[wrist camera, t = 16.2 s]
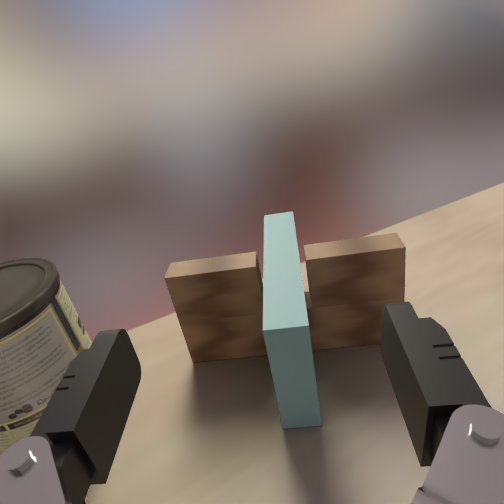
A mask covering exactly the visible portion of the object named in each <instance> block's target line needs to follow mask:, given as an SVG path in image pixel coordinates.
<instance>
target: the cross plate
mask: <svg viewBox="0 0 504 504" xmlns="http://www.w3.org/2000/svg"><path fill="white" fill-rule="evenodd" d="M263 335H264V339H265V344H266V349H267V354H268V359H269V364H270V369H271V374H272V378H273V383H274V388H275V393H276V398H277V403H278V408H279V413H280V417H281V422H282V427H283V429H286V428H298V427H310V426H322V424H321V416H320V408H319V400H318V393H317V385H316V377H315V369H314V362H313V354H312V346H311V338H310V330H309V323H308V316H307V309H306V302H305V295H304V288H303V280H302V273H301V266H300V259H299V252H298V245H297V239H296V231H295V224H294V217H293V212H286V213H279V214H272V215H265V216H264V274H263Z"/></svg>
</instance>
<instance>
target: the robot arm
mask: <svg viewBox="0 0 504 504" xmlns="http://www.w3.org/2000/svg"><path fill="white" fill-rule="evenodd" d="M381 350H382V356H383V360H384V363H385V366H386V369H387V372H388V375H389V377H390V380H391V383H392V386H393V389H394V392H395V394H396V397H397V400H398V403H399V406H400V409H401V412H402V414H403V417H404V420H405V423H406V426H407V429H408V432H409V434H410V437H411V440H412V443H413V446H414V449H415V451H416V454H417V457H418V460H419V463H420V466H431V467H430V470H429V472H428V474H427V477H426V479H425V482H424V484H423V486H422V487H420V488H419V489H418V490H417V492H416V494H415V496H414V498H413V500H412V503H411V504H504V414H502V413H500V412H499V411H497V410H494V409H492V407H491V406H490V404H489V403H488V401H487V400H486V398H485V396H484V395H483V393H482V391H481V389H480V388H479V386H478V384H477V383H476V381H475V379H474V377H473V376H472V374H471V372H470V371H469V369H468V367H467V365H466V364H465V362H464V360H463V359H462V358H461V356H460V353H459V352H458V350H457V348H456V347H455V346H454V343H453V341H452V340H451V338H450V336H449V335H448V333H447V331H446V329H445V328H443V327H442V326H441V325H440V324H438V323H437V322H436V321H435V320H433V319H432V318H431V317H430V318H418V317H417V315H416V313H415V311H414V309H413V307H412V305H411V303H410V302H401V303H390V304H383V305H382V318H381ZM140 379H141V366H140V362H139V360H138V357H137V355H136V352H135V350H134V348H133V345H132V343H131V340H130V338H129V335H128V333H127V332H126V330H124V329H117V330H107V331H100V332H99V333H98V334H97V335H96V337H95V339H94V341H93V343H92V345H91V346H90V348H89V349H84V350H83V351H82V352H81V353H80V354H78V355H77V356H76V357H75V358H74V359H73V360H72V361H71V363H70V365H69V366H68V368H67V370H66V372H65V374H64V375H63V379H61V381H60V383H59V384H58V386H57V390H56V391H55V392H54V393H53V395H52V397H51V399H50V401H49V402H48V404H47V406H46V408H45V410H44V411H43V413H42V415H41V417H40V419H39V420H38V422H37V424H36V426H35V428H34V429H33V431H32V433H31V435H30V436H29V437H27V438H25V439H22V440H20V441H18V442H16V443H15V444H13V445H12V446H10V447H9V448H8V449H7V450H5V451H4V452H3V453H2V454H1V456H0V504H89V501H88V499H87V498H86V494H87V492H88V489H89V486H90V484H106V481H107V478H108V475H109V472H110V469H111V466H112V463H113V460H114V457H115V454H116V451H117V448H118V446H119V443H120V440H121V437H122V434H123V431H124V428H125V425H126V422H127V419H128V416H129V413H130V410H131V407H132V404H133V401H134V398H135V395H136V392H137V389H138V386H139V383H140Z"/></svg>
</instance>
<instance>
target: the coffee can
mask: <svg viewBox="0 0 504 504" xmlns="http://www.w3.org/2000/svg"><path fill="white" fill-rule="evenodd" d="M91 345H92V342H91V341H90V338H89V337H88V334H87V332H86V330H85V329H84V326H83V325H82V323H81V320H80V318H79V316H78V314H77V312H76V310H75V309H74V307H73V305H72V302H71V300H70V298H69V296H68V295H67V293H66V291H65V289H64V287H63V285H62V283H61V281H60V279H59V273H58V270H57V268H56V266H55V264H54V263H53V262H51V261H49V260H46V259H40V258H26V259H18V260H13V261H8V262H4V263H0V456H1V454H2V453H3V452H4V451H5V450H7V449H8V448H9V447H10V446H12V445H13V444H15V443H16V442H18V441H20V440H22V439H25V438H27V437H29V436H30V435H31V433H32V431H33V429H34V428H35V426H36V424H37V422H38V420H39V419H40V417H41V415H42V413H43V411H44V410H45V408H46V406H47V404H48V402H49V401H50V399H51V397H52V395H53V393H54V392H55V391H56V390H57V386H58V384H59V383H60V381H61V379H63V375H64V374H65V372H66V370H67V368H68V366H69V365H70V363H71V361H72V360H73V359H74V358H75V357H76V356H77V355H78V354H80V353H81V352H82V351H83V350H84V349H89V348H90V346H91Z"/></svg>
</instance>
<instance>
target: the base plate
mask: <svg viewBox="0 0 504 504" xmlns="http://www.w3.org/2000/svg"><path fill="white" fill-rule="evenodd" d="M405 250H406V247H405V246H404V244H403V242H402V241H401V239H400V238H399V236H398V234H397V233H392V234H385V235H377V236H370V237H362V238H355V239H347V240H340V241H332V242H325V243H317V244H310V245H304V251H305V259H306V268H307V276H308V284H309V292H304V295H305V302H306V309H307V316H308V323H309V330H310V338H311V346H312V350H322V349H331V348H341V347H351V346H361V345H371V344H381V318H382V305H383V304H390V303H401V302H404V293H405ZM165 281H166V284H167V287H168V290H169V293H170V295H171V299H172V302H173V305H174V308H175V311H176V314H177V317H178V320H179V323H180V326H181V329H182V332H183V335H184V337H185V340H186V343H187V346H188V349H189V352H190V355H191V358H192V361H193V363H194V362H204V361H214V360H223V359H233V358H243V357H253V356H263V355H268V354H267V349H266V344H265V339H264V335H263V283H262V278H261V273H260V268H259V263H258V258H257V252H249V253H242V254H235V255H228V256H219V257H213V258H205V259H197V260H190V261H182V262H174V263H171V264H170V266H169V268H168V271H167V273H166V276H165Z"/></svg>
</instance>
